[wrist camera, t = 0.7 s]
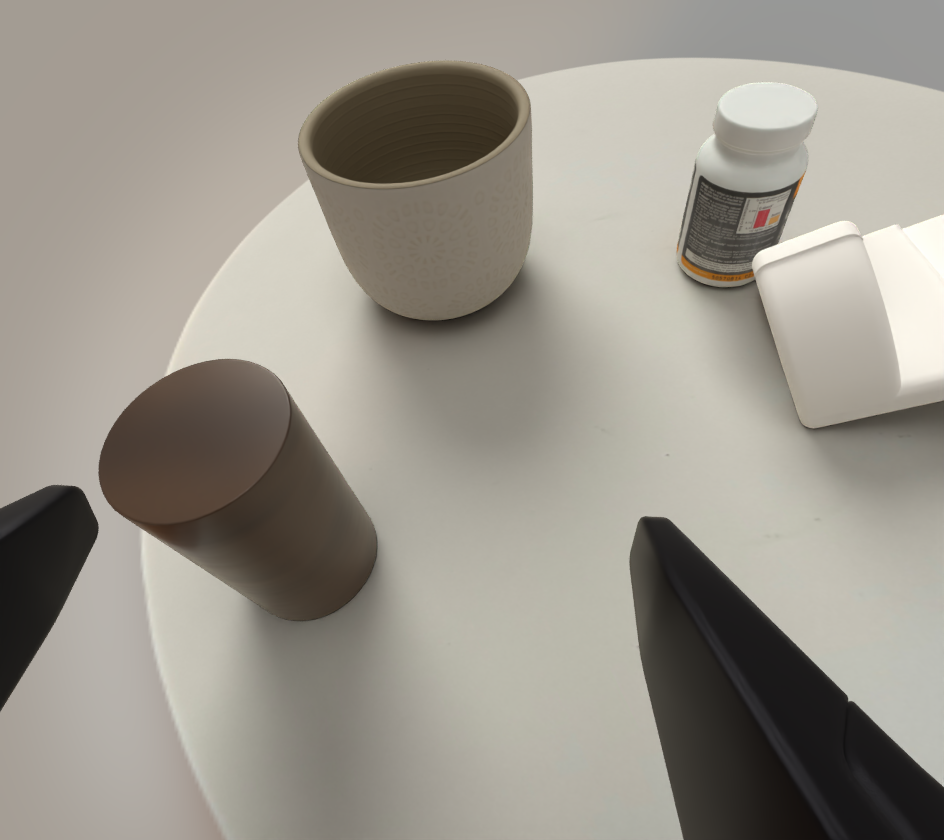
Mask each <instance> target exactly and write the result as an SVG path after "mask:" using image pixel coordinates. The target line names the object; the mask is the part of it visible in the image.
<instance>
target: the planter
mask: <svg viewBox="0 0 944 840" xmlns="http://www.w3.org/2000/svg"><path fill="white" fill-rule="evenodd" d="M298 149H299V153H300V156H301V159H302V162H303V165H304V167H305V169H306V172H307V175H308V177H309V180H310V182H311V184H312V187H313V189H314V191H315V194H316V196H317V199H318V201H319V204H320V206H321V209H322V211H323V214H324V216H325V219H326V221H327V224H328V226H329V229H330V231H331V233H332V236H333V238H334V240H335V242H336V245H337V247H338V249H339V251H340V254H341V256H342V258H343V260H344V262H345V264H346V266H347V267H348V269H349V271H350V273H351V274H352V276H353V278H354V279H355V281H356V282H357V283H358V284H359V286H360V287H361V288H362V289H363V290H364V291H365V292H366V293H367V294H368V295H369V296H370V297H371V298H372V299H373V300H374V301H376V302H377V303H378V304H380V305H381V306H383V307H384V308H386V309H388V310H390V311H392V312H394V313H396V314H399V315H402V316H405V317H409V318H413V319H419V320H446V319H452V318H457V317H461V316H464V315H467V314H470V313H472V312H475V311H477V310H479V309H481V308H483V307H485V306H486V305H488V304H490V303H491V302H493V301H494V300H495V299H496V298H498V297H499V296H500V295H501V294H502V293H503V292H504V291H505V290H506V289H507V288H508V287H509V286H510V285H511V284H512V282H513V281H514V279H515V278H516V276H517V275H518V273H519V271H520V269H521V267H522V265H523V263H524V260H525V258H526V255H527V251H528V248H529V244H530V238H531V230H532V215H533V176H532V122H531V105H530V100H529V97H528V94H527V93H526V91H525V89H524V88H523V87H522V85H521V84H520V83H519V82H518V81H517V80H515V79H514V78H513V77H511V76H510V75H508V74H506V73H504V72H502V71H500V70H498V69H495V68H492V67H489V66H486V65H482V64H477V63H471V62H463V61H428V62H419V63H412V64H406V65H402V66H397V67H393V68H389V69H385V70H382V71H379V72H376V73H373V74H370V75H368V76H365V77H363V78H360V79H358V80H356V81H354V82H352V83H350V84H348V85H346V86H344V87H342V88H341V89H339V90H337V91H336V92H334V93H333V94H331V95H330V96H329V97H327V98H326V99H325V100H323V101H322V102H321V103H320V104H319V105H318V106H317V107H316V108H315V109H314V110H313V111H312V112H311V114H310V115H309V116H308V117H307V119H306V120H305V122H304V124H303V126H302V128H301V130H300V133H299V138H298Z"/></svg>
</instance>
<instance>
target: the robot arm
mask: <svg viewBox="0 0 944 840" xmlns="http://www.w3.org/2000/svg"><path fill="white" fill-rule="evenodd" d="M97 535H98V522H97V520H96V517H95V515H94V513H93V511H92V509H91V507H90V505H89V502H88V500H87V498H86V496H85V494H84V493H83V491H82V490H81V489H80V488H78V487H76V486H64V485H63V486H62V485H51V486H48V487H45V488H43V489H41V490H39V491H37V492H35V493H33V494H30V495H28V496H26V497H24V498H22V499H20V500H18V501H15V502H13V503H11V504H9V505H7V506H5V507H3V508H1V509H0V711H1V710H2V708H3V706H4V705H5V703H6V702H7V700H8V698H9V697H10V695H11V693H12V692H13V690H14V688H15V687H16V685H17V684H18V682H19V680H20V679H21V677H22V676H23V674H24V672H25V671H26V669H27V667H28V666H29V664H30V663H31V661H32V659H33V658H34V656H35V655H36V653H37V651H38V650H39V648H40V647H41V645H42V643H43V642H44V640H45V638H46V637H47V635H48V633H49V632H50V630H51V628H52V626H53V625H54V623H55V621H56V619H57V617H58V616H59V614H60V612H61V610H62V608H63V606H64V604H65V602H66V600H67V598H68V596H69V593H70V592H71V589H72V587H73V585H74V583H75V581H76V579H77V577H78V575H79V573H80V571H81V569H82V567H83V565H84V563H85V561H86V559H87V557H88V555H89V553H90V551H91V549H92V547H93V544H94V543H95V540H96V538H97ZM630 574H631V582H632V591H633V599H634V607H635V616H636V624H637V633H638V641H639V648H640V656H641V661H642V666H643V671H644V675H645V679H646V683H647V688H648V692H649V696H650V700H651V704H652V709H653V713H654V717H655V721H656V725H657V730H658V734H659V738H660V742H661V746H662V751H663V755H664V759H665V763H666V767H667V771H668V776H669V780H670V784H671V788H672V792H673V797H674V801H675V805H676V809H677V813H678V818H679V822H680V826H681V830H682V834H683V839H684V840H944V787H943V786H942V785H941V784H940V783H938V782H937V781H936V780H935V779H934V778H933V777H932V776H931V775H930V774H928V773H927V772H926V771H925V770H924V769H923V768H922V767H921V766H920V765H918V764H917V763H916V762H915V761H914V760H913V759H912V758H911V757H910V756H909V755H908V754H907V753H906V752H905V751H904V750H903V749H902V748H901V747H900V746H899V745H898V744H896V743H895V742H894V741H893V740H892V739H891V738H890V737H889V736H888V735H887V734H886V733H885V732H884V731H883V730H882V729H881V728H880V727H879V726H878V725H877V724H876V723H875V722H874V721H873V720H872V719H871V718H870V717H869V716H868V715H867V714H866V713H865V712H864V711H863V710H861V709H860V708H859V707H858V706H857V705H856V704H855V703H854V702H853V701H849V702H848V696H847V695H846V694H845V693H844V692H843V691H842V690H841V689H840V688H839V687H838V686H837V685H836V684H835V683H834V682H833V681H832V680H831V679H830V678H829V677H828V676H827V675H826V674H825V673H824V672H823V671H822V670H821V669H820V668H819V667H818V666H817V665H816V664H815V663H814V662H813V661H812V660H811V659H810V658H809V657H808V656H807V655H806V654H805V653H804V652H803V651H802V650H801V649H800V648H799V647H798V646H797V645H796V644H795V643H794V642H793V641H792V640H791V639H790V638H789V637H787V636H786V635H785V634H784V633H783V632H782V631H781V630H780V629H779V628H778V627H777V626H776V625H775V624H774V623H773V622H772V621H771V620H770V619H769V618H768V617H767V616H766V615H765V614H764V613H763V612H762V611H761V610H760V609H759V608H758V607H757V606H756V605H755V604H754V603H753V602H752V601H751V600H750V599H749V598H748V597H747V596H746V595H745V594H744V593H743V592H742V591H741V590H740V589H739V588H738V587H737V586H736V585H735V584H734V583H733V582H732V581H731V580H730V579H729V578H728V577H727V576H726V575H725V574H724V573H723V572H722V571H721V570H720V569H719V568H718V567H717V566H716V565H715V564H714V563H713V562H712V561H711V560H710V559H709V558H708V557H707V556H706V555H705V554H704V553H703V552H702V551H701V550H700V549H699V548H698V547H697V546H696V545H695V544H694V543H693V542H692V541H691V540H690V539H689V538H688V537H687V536H686V535H685V534H684V533H682V532H681V531H680V530H679V529H678V528H677V527H676V526H675V525H674V524H673V523H672V522H671V521H670V520H669V519H667V518H664V517H647V516H645V517H642V518H641V519H640V520H639V522H638V525H637V529H636V532H635V536H634V540H633V544H632V548H631V552H630Z"/></svg>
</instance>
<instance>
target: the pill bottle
mask: <svg viewBox="0 0 944 840" xmlns="http://www.w3.org/2000/svg"><path fill="white" fill-rule="evenodd" d="M817 111H818V105H817V102H816V100H815V99H814V97H813V96H812V95H811V94H809V93H808V92H806V91H804V90H803V89H800V88H798V87H795V86H792V85H788V84H782V83H775V82H759V83H750V84H745V85H741V86H739V87H736V88H734V89H731V90H730V91H728V92H727V93H725V94H724V95H723V96H722V97H721V99H720V101H719V103H718V105H717V109H716V113H715V117H714V121H713V130H714V132H715V134H713V135H712V136H711V137H709V138H708V139H707V140H706V141H705V142H704V144H703V145H702V147H701V148H700V150H699V152H698V154H697V157H696V160H695V165H694V170H693V175H692V180H691V185H690V189H689V194H688V199H687V203H686V207H685V212H684V216H683V221H682V225H681V230H680V234H679V239H678V244H677V261H678V263H679V265H680V267H681V268H682V269H683V271H684V272H685V273H686V274H687V275H689V276H690V277H691V278H693V279H695V280H696V281H699V282H701V283H703V284H707V285H711V286H716V287H734V286H741V285H744V284H747V283H749V282H751V281H753V280H755V276H754V272H753V269H752V261H753V259H754V257H755V255H756V254H757V253H759V252H760V251H762V250H764V249H767V248H769V247H772V246H775V245H777V244H778V242H779V239H780V237H781V235H782V232H783V229H784V226H785V223H786V221H787V218H788V215H789V212H790V210H791V208H792V205H793V202H794V199H795V197H796V195H797V192H798V189H799V187H800V184H801V182H802V180H803V177H804V174H805V172H806V168H807V165H808V151H807V148H806V146H805V144H804V142H803V141H804V140H805V139H806V138H807V137H808V135H809V134H810V132H811V129H812V127H813V124H814V121H815V118H816V115H817Z"/></svg>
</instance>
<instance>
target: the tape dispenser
mask: <svg viewBox="0 0 944 840" xmlns="http://www.w3.org/2000/svg"><path fill="white" fill-rule="evenodd" d="M752 269H753V272H754V276H755V279H756V282H757V286H758V289H759V292H760V296H761V299H762V302H763V306H764V309H765V312H766V315H767V319H768V322H769V325H770V328H771V332H772V335H773V338H774V341H775V345H776V348H777V351H778V354H779V357H780V361H781V364H782V367H783V370H784V373H785V376H786V379H787V383H788V386H789V389H790V392H791V395H792V398H793V401H794V404H795V407H796V410H797V413H798V416H799V419H800V421H801V423H802V424H803V425H804V426H806V427H809V428H819V427H824V426H828V425H833V424H838V423H842V422H847V421H851V420H856V419H861V418H865V417H870V416H874V415H879V414H884V413H888V412H893V411H897V410H902V409H907V408H911V407H916V406H920V405H925V404H930V403H934V402H939V401H943V400H944V214H943V215H940V216H938V217H935V218H932V219H929V220H926V221H923V222H921V223H918V224H915V225H912V226H909V227H906V228H903V229H901V227H900V226H899V225H898V224H895V225H892V226H890V227H887V228H884V229H881V230H878V231H876V232H873V233H870V234H867V235H864V236H861V234H860V232H859V230H858V228H857V226H856V225H855V224H854V223H852V222H849V221H839V222H836V223H834V224H831V225H828V226H826V227H823V228H820V229H817V230H815V231H812V232H809V233H807V234H804V235H801V236H799V237H796V238H793V239H791V240H788V241H785V242H783V243H780V244H777V245H775V246H772V247H769V248H767V249H764V250H762V251H760V252H759V253H757V254H756V255H755V257H754V259H753V261H752Z"/></svg>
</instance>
